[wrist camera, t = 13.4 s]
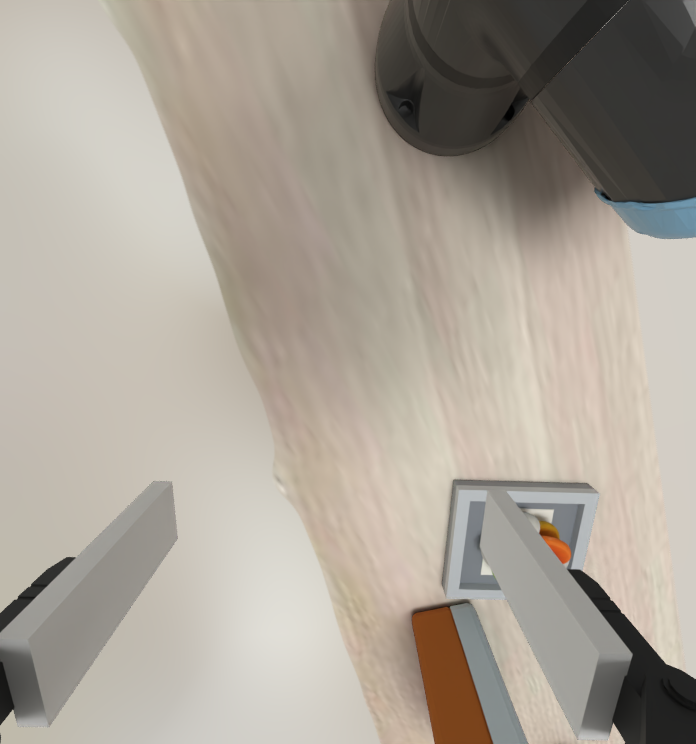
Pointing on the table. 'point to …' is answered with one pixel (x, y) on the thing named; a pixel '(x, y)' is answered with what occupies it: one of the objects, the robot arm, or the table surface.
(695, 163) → the robot arm
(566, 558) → the rainbow disc rolling toy
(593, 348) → the table surface
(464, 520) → the square gray tray
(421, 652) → the rectangular block
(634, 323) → the table surface
